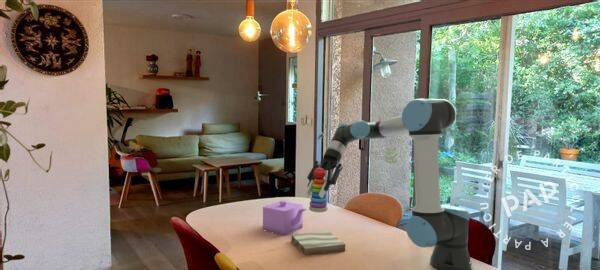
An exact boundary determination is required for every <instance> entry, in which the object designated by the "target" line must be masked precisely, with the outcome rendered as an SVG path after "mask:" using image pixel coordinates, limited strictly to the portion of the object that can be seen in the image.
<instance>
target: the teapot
mask: <svg viewBox="0 0 600 270" xmlns="http://www.w3.org/2000/svg"><path fill="white" fill-rule="evenodd" d="M305 211H308V210H307V208H304V205H303V204H299V203H296V202H290V201H287V200H279V201H277V202H274V203H271V204H267V205H265V206H263V207H262V231H263V230H266V231H265V232H267V231H269V232H268V233H271V232H273V233H272V234H275V233H277V234H276V235H279V234H280V235H279V236H283V235H284V237H285V236H287V235H290V234H291V233H294V232H296V230H297V231H299V230H301V229H303V227H304V226H303V225H304V224H303V222H304V219H303V216H304V214H303V213H304V212H305ZM289 233H290V234H289Z"/></svg>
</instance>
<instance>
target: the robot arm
mask: <svg viewBox="0 0 600 270" xmlns="http://www.w3.org/2000/svg"><path fill="white" fill-rule="evenodd" d="M456 118H457V110H456V107H455V106H454V104H453V103H452V102H450V101H449V100H447V99H443V98H423V97H422V98H421V97H420V98H415V99H411V100H410V101H409V102H407V103H406V105H404V108H403V110H402V112H401V115H399V116H394V117H390V118H387V119H383V120H378V121H374V122H373V121H372V122H369V121H368V122H367V121H365V120H363V119H361V120H357V121H354V122H353V123H351V124H348V123H340V124H339V125H338V127H337V128H336V130H335V132H334V134H333V136H332V137H331V138H332V139H331V141H330V142H329V144H328V146H327V149H326V151H325V152H324V155H323V157H322V159H321V161H318V160H315V161H314V165H313V167H312V168H311V170H310V171H309V172H308V175H307V177H306V178H307V180H308V181H309V182H308V184H307V189H306V190H305V194H306V195H307V197H310V195H311V194H312V192H313V191H312V189H313V188H314V187H313V184H314V179H315V178H316V177H315V176H314V170H315V169H316V168H319V167H320V168H323V169H324V170H325V172H326V171H327V177H326V180H325V182H324V184H323V186H322V188H321V191H320V193H319V196H320V197H321V198H323V196H324V194H325V193H326V192H327V191H329V189H330V187H331V186H332V185H333V186H335V185H336V183H337V182H338V178H339V175H340V173H341V171H342V170H343V168H344V167H343V165H342V163H340V162H341V160H342V157H343V154H344V152H345V151H346V148H347V146H348V145H349V143H353V142H355V141H358V140H370V139H371V140H372V139H381V140H382V139H386V138H387V137H391V136H396V135H401V134H406V133H408V136H409V138H411V140H413V163H414V164H413V166H414V191H415V205H414V206H413V207H412V208H411V216H410V217H409V218H408V220H407V221H406V224H405V229H406V234H407V236H408V238H409V239H410V240H411V243H413V244H414V245H415V246H417V247H418V248H432V247H434V248H433V249H432V253H431V255H430V258H429V260H430V261H429V262H430V265H431V266H432V267H434V268H436V269H438V270H470V269H471V270H472V264H473V263H472V259H471V255H470V252H469V249H468V244H469V243H468V241H469V223H470V213H469V212H470V211H468V210H467V209H466V208H463V207H460V206H456V205H449V204H448V205H447V204H441V202H440V201H441V195H440V194H441V193H440V172H439V171H440V168H439V167H440V165H439V143H438V140H439V139H440V137H441V136H442V135H443V134H442V133H443V131H442V130H445V129H448V128H449V127H451V126H452V125H453V124H454V123H455V121H456Z"/></svg>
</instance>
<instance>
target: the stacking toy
mask: <svg viewBox="0 0 600 270" xmlns="http://www.w3.org/2000/svg"><path fill="white" fill-rule="evenodd" d="M314 176H315V177H316V178H315V179H314V184H313V187H314V188H313V189H312V192H311V194H310V195H311V197H310V202H309V207H308V208H309V209H308V210H309V211H311V212H313V213H325V212H327V211H328V210H329V209H328V206H327V205H328V202H327V201H328V199H327V193H326V192H325V194H324V196H323V198H321V197H320V196H319V193H320V191H321V188H322V186H323V184H324V182H326V179H324V178H325V176H326V171H325V170H324V169H323V168H320V167H319V168H316V169H315V170H314Z"/></svg>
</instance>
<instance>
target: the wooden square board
mask: <svg viewBox="0 0 600 270" xmlns="http://www.w3.org/2000/svg"><path fill="white" fill-rule="evenodd" d="M291 242H292V243H293V245H294V246H296V247H297V249H298V250H299V251H300V252H301V253H302V254H303V255H304V256H311V255H319V254H328V253H338V252H339V253H340V252H345V251H346V243H344V241H342V240H341V239H339V238H338V237H337V236H335V234H333V233H331V231H329V230H327V231H316V232H315V231H314V232H307V233H304V232H303V233H295V234H291Z"/></svg>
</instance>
